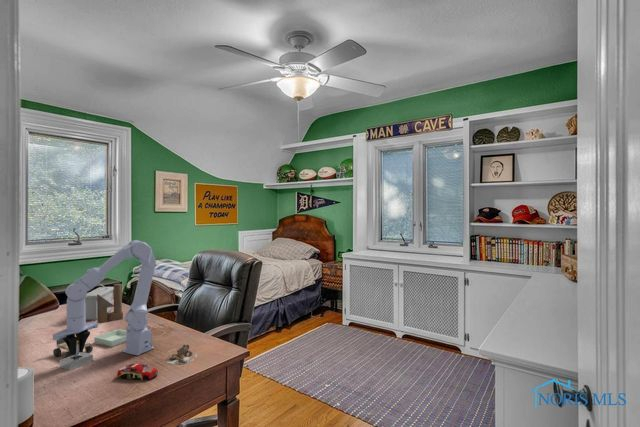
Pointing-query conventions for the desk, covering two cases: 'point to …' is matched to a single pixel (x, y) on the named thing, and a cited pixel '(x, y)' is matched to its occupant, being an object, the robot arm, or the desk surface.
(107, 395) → the desk surface
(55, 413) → the desk surface
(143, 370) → the race car
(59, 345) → the ramp trolley
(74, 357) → the pin
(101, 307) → the wooden block
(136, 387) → the desk surface
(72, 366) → the plate
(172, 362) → the frog figurine
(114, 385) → the desk surface
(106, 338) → the tray
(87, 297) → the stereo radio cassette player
